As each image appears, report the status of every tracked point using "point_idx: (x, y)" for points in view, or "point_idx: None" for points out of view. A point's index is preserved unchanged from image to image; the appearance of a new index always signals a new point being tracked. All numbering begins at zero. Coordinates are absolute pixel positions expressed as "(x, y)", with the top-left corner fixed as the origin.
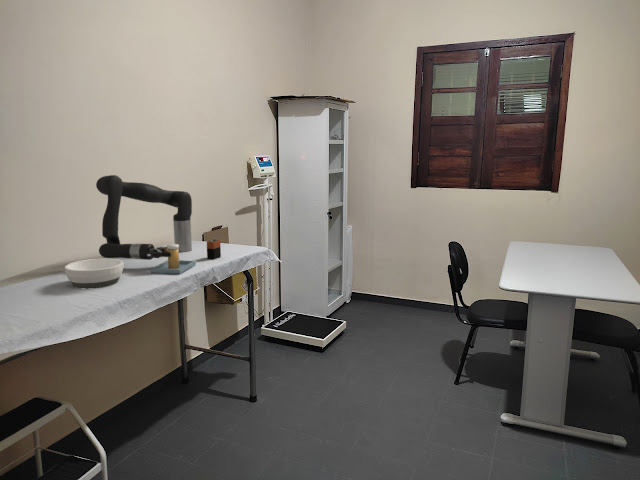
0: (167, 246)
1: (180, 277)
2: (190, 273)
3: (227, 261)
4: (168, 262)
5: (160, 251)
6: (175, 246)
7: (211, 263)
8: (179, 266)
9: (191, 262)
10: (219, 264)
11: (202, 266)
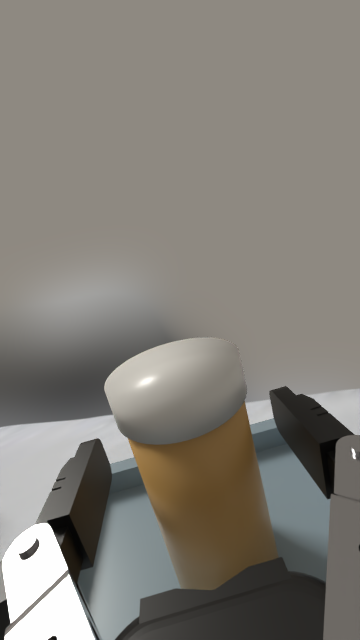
0: (234, 373)
1: (351, 400)
2: (263, 413)
3: (36, 428)
4: (266, 546)
5: (345, 479)
6: (204, 341)
7: (59, 454)
8: (166, 550)
9: (126, 466)
10: (86, 422)
11: (121, 451)
